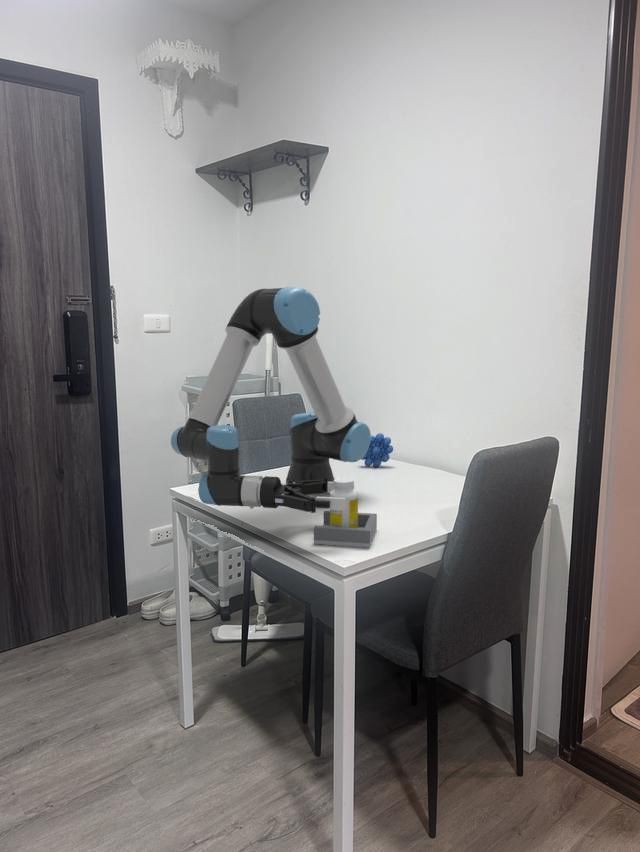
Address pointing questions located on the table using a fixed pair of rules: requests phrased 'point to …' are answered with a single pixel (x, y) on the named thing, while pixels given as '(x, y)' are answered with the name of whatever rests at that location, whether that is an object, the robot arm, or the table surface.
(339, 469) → the table surface
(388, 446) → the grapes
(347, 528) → the gray open-sided tray
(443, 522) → the table surface
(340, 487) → the supplement bottle
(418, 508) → the table surface
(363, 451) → the robot arm
